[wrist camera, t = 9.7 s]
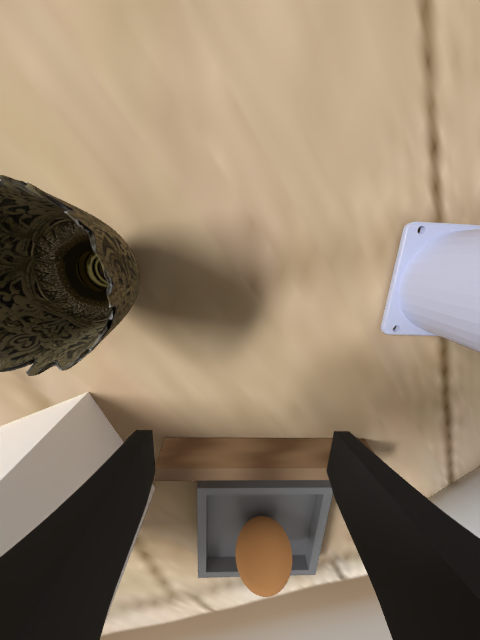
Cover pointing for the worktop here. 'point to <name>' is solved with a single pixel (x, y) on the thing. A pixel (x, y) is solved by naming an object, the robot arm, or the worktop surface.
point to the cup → (57, 280)
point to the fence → (243, 459)
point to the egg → (263, 556)
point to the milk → (51, 464)
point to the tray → (260, 500)
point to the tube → (462, 501)
